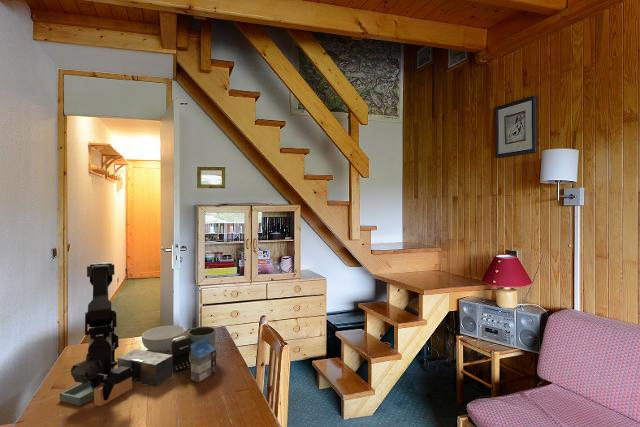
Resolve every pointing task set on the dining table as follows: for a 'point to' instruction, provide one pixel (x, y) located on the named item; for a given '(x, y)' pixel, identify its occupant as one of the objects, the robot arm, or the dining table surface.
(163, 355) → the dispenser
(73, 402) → the tray
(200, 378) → the label tape cartridge
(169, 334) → the cereal bowl
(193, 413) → the dining table surface
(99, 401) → the orange-brown rectangular block
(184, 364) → the battery charger
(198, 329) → the gray cylindrical cup
